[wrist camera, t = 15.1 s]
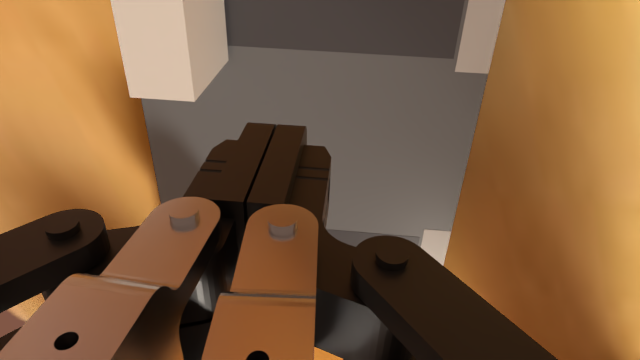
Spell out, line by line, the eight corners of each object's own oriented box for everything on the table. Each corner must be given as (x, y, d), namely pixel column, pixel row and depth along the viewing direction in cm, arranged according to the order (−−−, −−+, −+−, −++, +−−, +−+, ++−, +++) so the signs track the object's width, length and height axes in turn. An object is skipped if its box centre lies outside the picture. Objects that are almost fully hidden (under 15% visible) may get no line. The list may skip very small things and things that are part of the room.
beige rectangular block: (221, -39, 23) (180, -18, 18) (228, 60, 26) (194, 101, 21) (162, -41, 23) (106, -22, 18) (175, 56, 26) (130, 97, 21)
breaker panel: (508, -64, 23) (519, -60, 22) (432, 280, 36) (435, 299, 35) (125, -81, 25) (107, -78, 23) (183, 258, 38) (174, 275, 36)
